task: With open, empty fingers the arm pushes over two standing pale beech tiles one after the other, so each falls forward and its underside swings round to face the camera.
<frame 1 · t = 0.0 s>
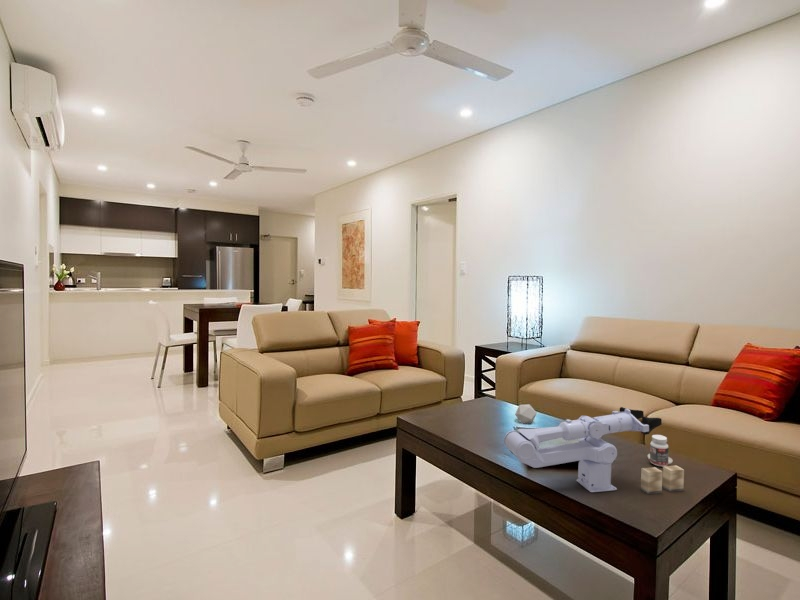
hand: (651, 417, 137), 22 cm above the table, tool horizontal, fingers open, 7 cm apart
beech tile B: (672, 489, 133), on the table
beech tile A: (651, 491, 132), on the table
stone coaster: (659, 459, 155), on the table
die: (525, 422, 195), on the table
pill bottle: (659, 463, 151), resting on stone coaster
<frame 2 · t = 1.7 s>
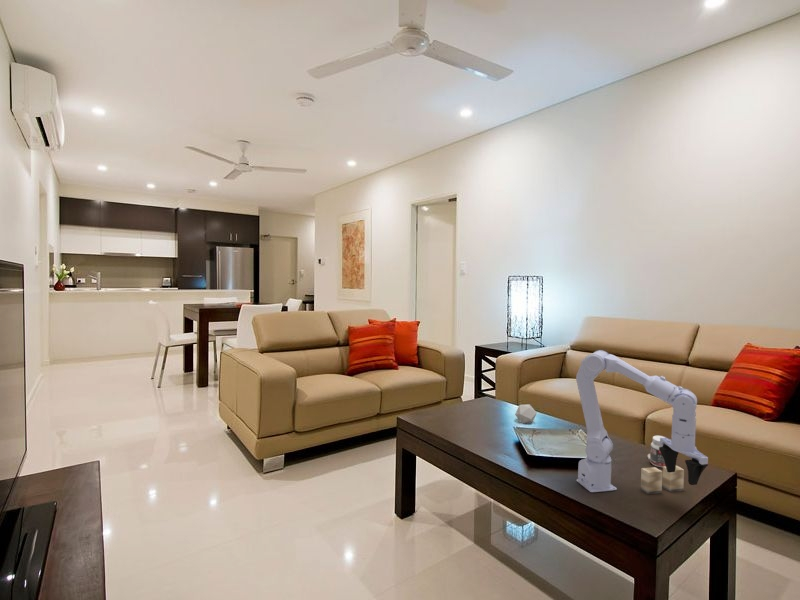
hand: (681, 477, 121), 10 cm above the table, tool pointing down, fingers open, 7 cm apart
pill bottle: (659, 464, 151), resting on stone coaster
everything else where it was.
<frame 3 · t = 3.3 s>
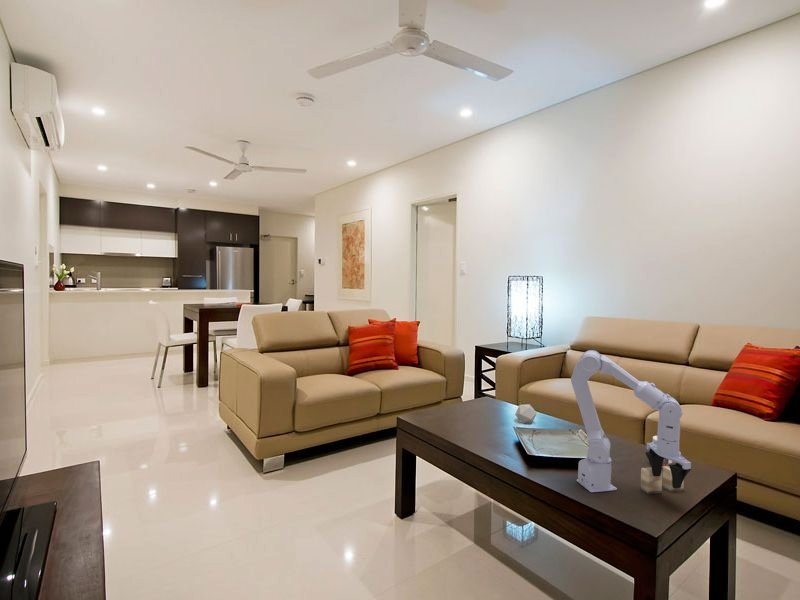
hand: (666, 481, 126), 6 cm above the table, tool pointing down, fingers open, 7 cm apart
beech tile A: (651, 491, 132), on the table, touching gripper
everything else where it was.
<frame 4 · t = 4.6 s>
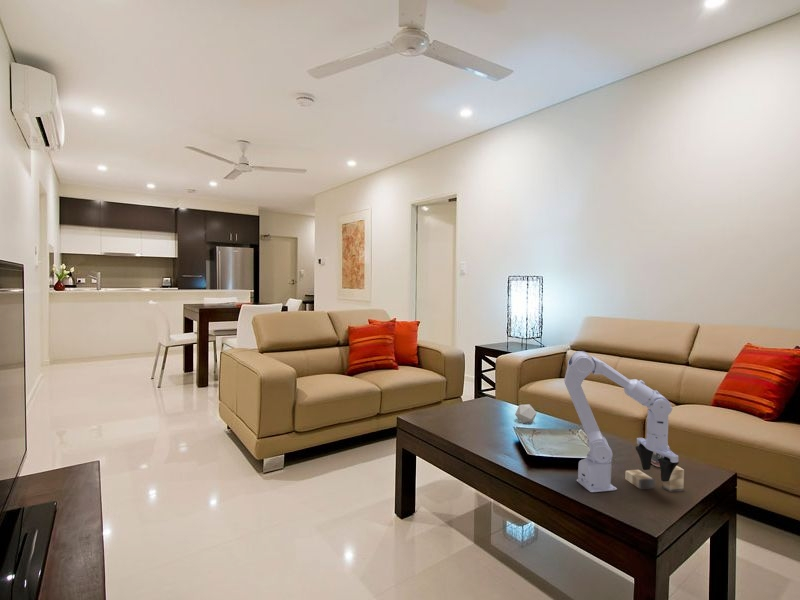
hand: (655, 475, 130), 6 cm above the table, tool pointing down, fingers open, 7 cm apart
beech tile A: (647, 484, 133), point 1 cm above the table, tilted 90°
everything else where it was.
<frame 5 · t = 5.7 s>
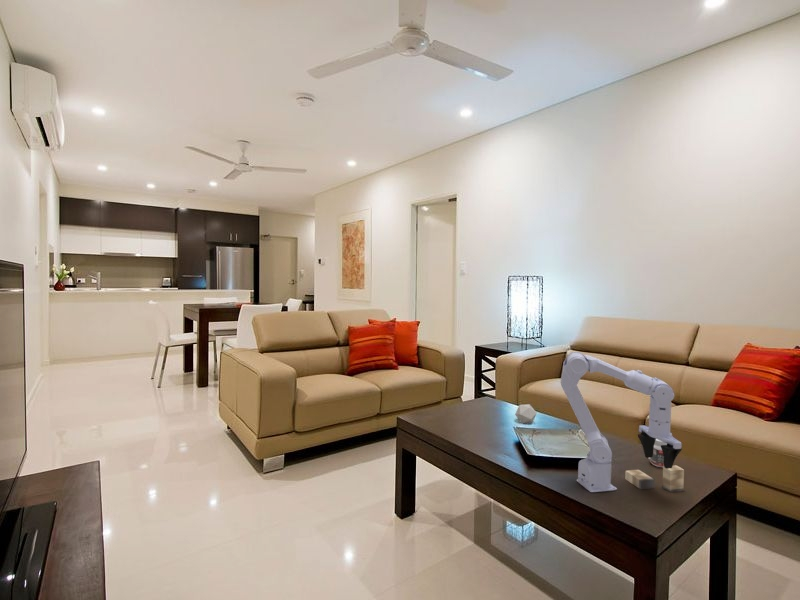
hand: (658, 462, 129), 10 cm above the table, tool pointing down, fingers open, 7 cm apart
nothing on the table moved.
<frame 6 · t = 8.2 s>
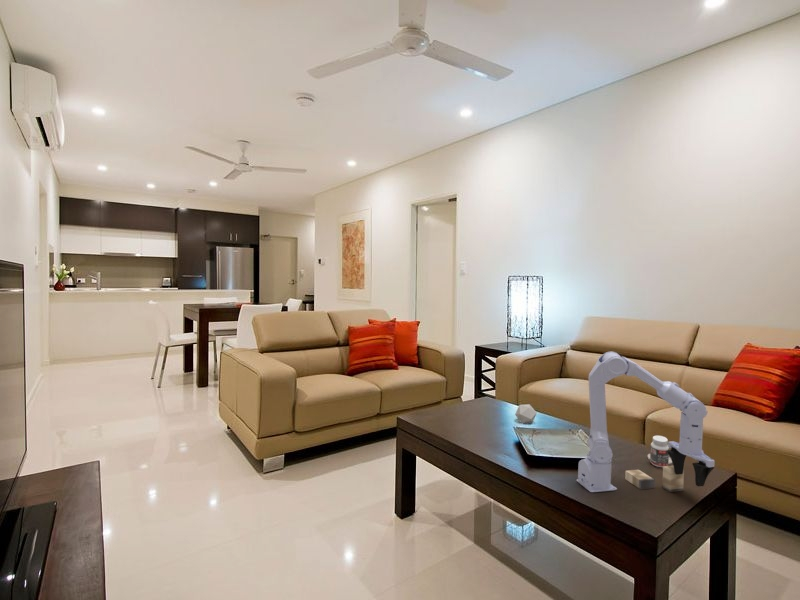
hand: (689, 479, 127), 6 cm above the table, tool pointing down, fingers open, 7 cm apart
beech tile B: (672, 489, 133), on the table, touching gripper
everything else where it was.
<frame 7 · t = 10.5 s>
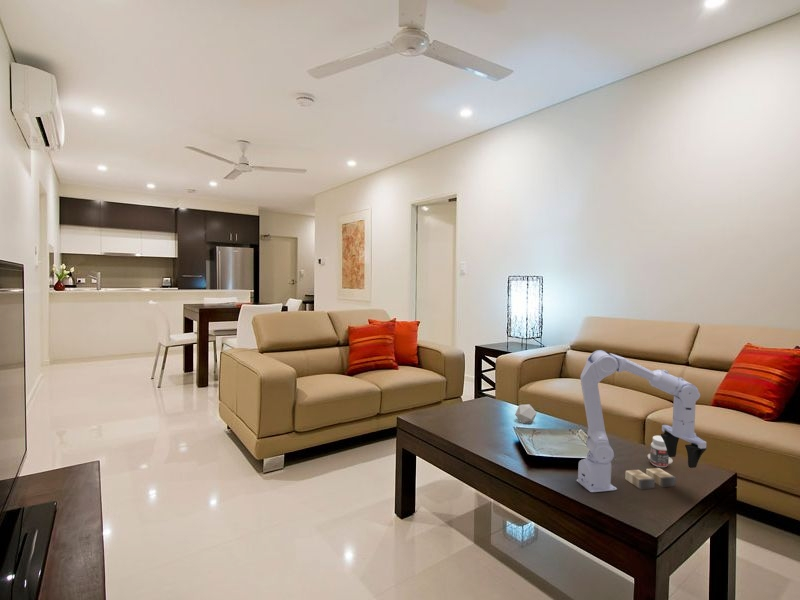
hand: (681, 461, 130), 10 cm above the table, tool pointing down, fingers open, 7 cm apart
beech tile B: (669, 482, 135), point 1 cm above the table, tilted 90°
everything else where it was.
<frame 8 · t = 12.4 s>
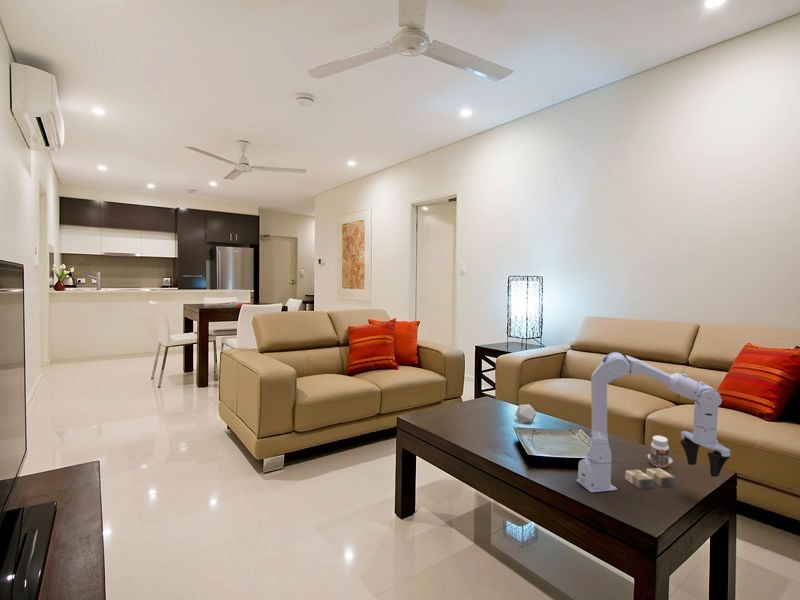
hand: (703, 470, 124), 10 cm above the table, tool pointing down, fingers open, 7 cm apart
nothing on the table moved.
at the end: beech tile A tilted 90°; beech tile B tilted 90°; beech tile A inside the target area (3.0 cm from its centre), point 1.4 cm above the table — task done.
